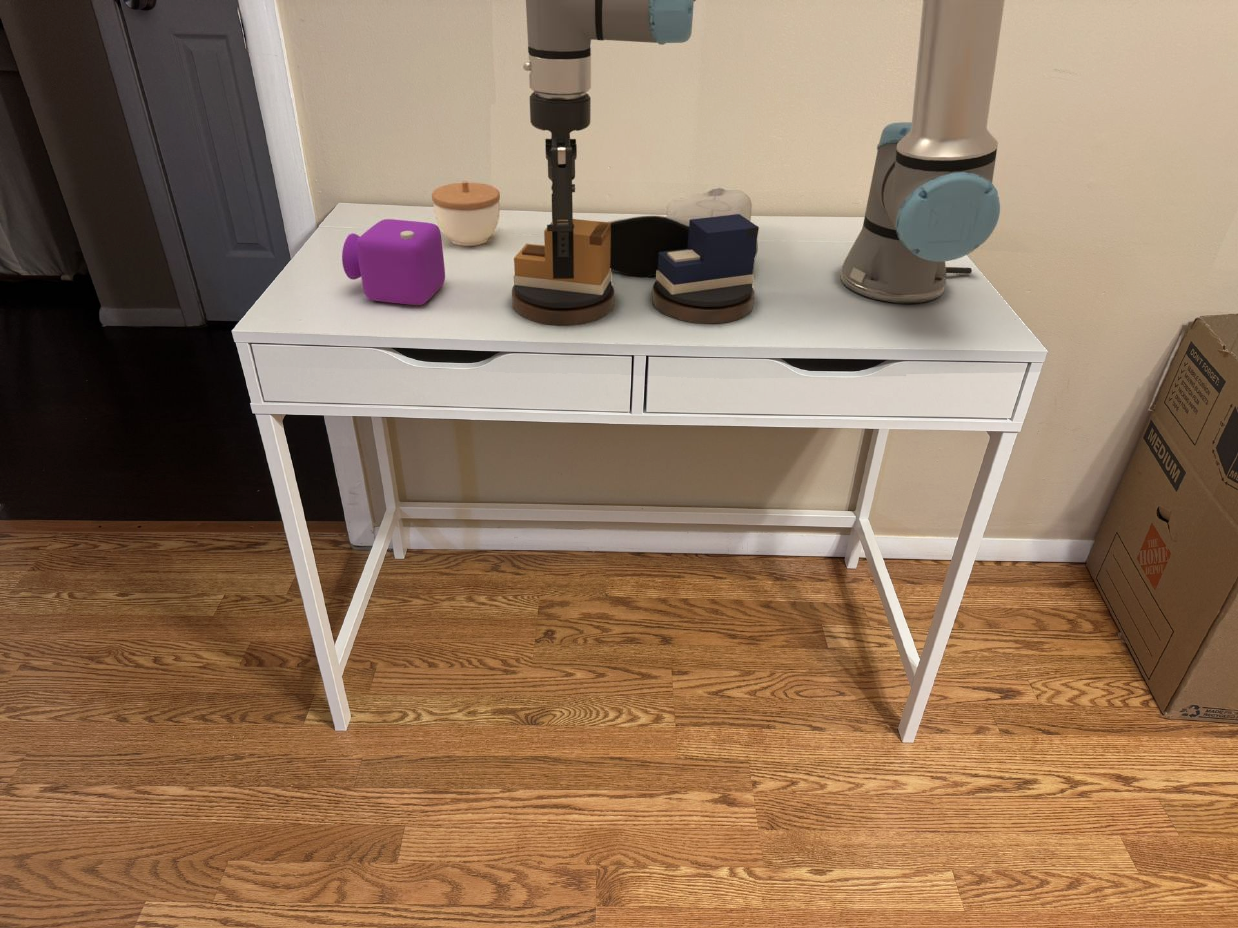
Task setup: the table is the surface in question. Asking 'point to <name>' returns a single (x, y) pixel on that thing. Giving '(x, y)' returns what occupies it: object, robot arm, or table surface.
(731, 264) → the navy and black piece
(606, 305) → the turntable base
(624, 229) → the cowboy boot
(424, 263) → the toy camera
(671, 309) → the turntable base
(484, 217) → the trinket box
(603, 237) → the tan sneaker
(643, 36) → the robot arm
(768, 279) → the table surface
